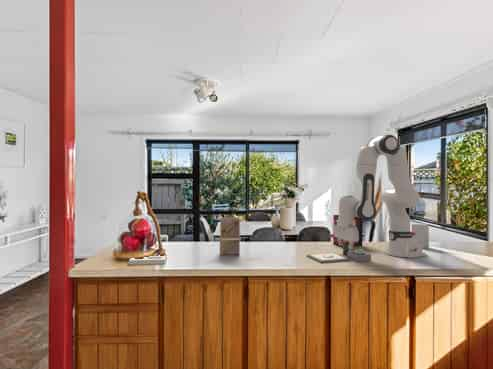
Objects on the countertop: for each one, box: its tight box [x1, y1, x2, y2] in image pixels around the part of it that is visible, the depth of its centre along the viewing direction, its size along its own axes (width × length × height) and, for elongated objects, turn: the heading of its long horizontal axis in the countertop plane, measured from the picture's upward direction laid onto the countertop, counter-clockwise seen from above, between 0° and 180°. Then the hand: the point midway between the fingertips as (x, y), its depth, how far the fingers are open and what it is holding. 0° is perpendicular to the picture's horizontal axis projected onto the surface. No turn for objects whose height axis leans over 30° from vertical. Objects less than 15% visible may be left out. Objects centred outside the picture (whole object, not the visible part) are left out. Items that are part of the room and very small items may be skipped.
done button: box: [353, 248, 364, 255], centre depth 189 cm, size 5×5×3 cm
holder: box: [128, 255, 168, 266], centre depth 199 cm, size 45×18×3 cm, turn 7°
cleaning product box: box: [332, 214, 363, 248], centre depth 231 cm, size 16×9×20 cm, turn 98°
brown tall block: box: [219, 211, 241, 256], centre depth 199 cm, size 8×12×26 cm
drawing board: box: [306, 252, 351, 264], centre depth 192 cm, size 18×16×1 cm
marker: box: [342, 239, 350, 257], centre depth 201 cm, size 4×4×10 cm
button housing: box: [346, 251, 372, 263], centre depth 189 cm, size 9×9×4 cm
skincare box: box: [411, 222, 430, 250], centre depth 225 cm, size 8×7×16 cm
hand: (345, 247), depth 200 cm, fingers open, 8 cm apart
